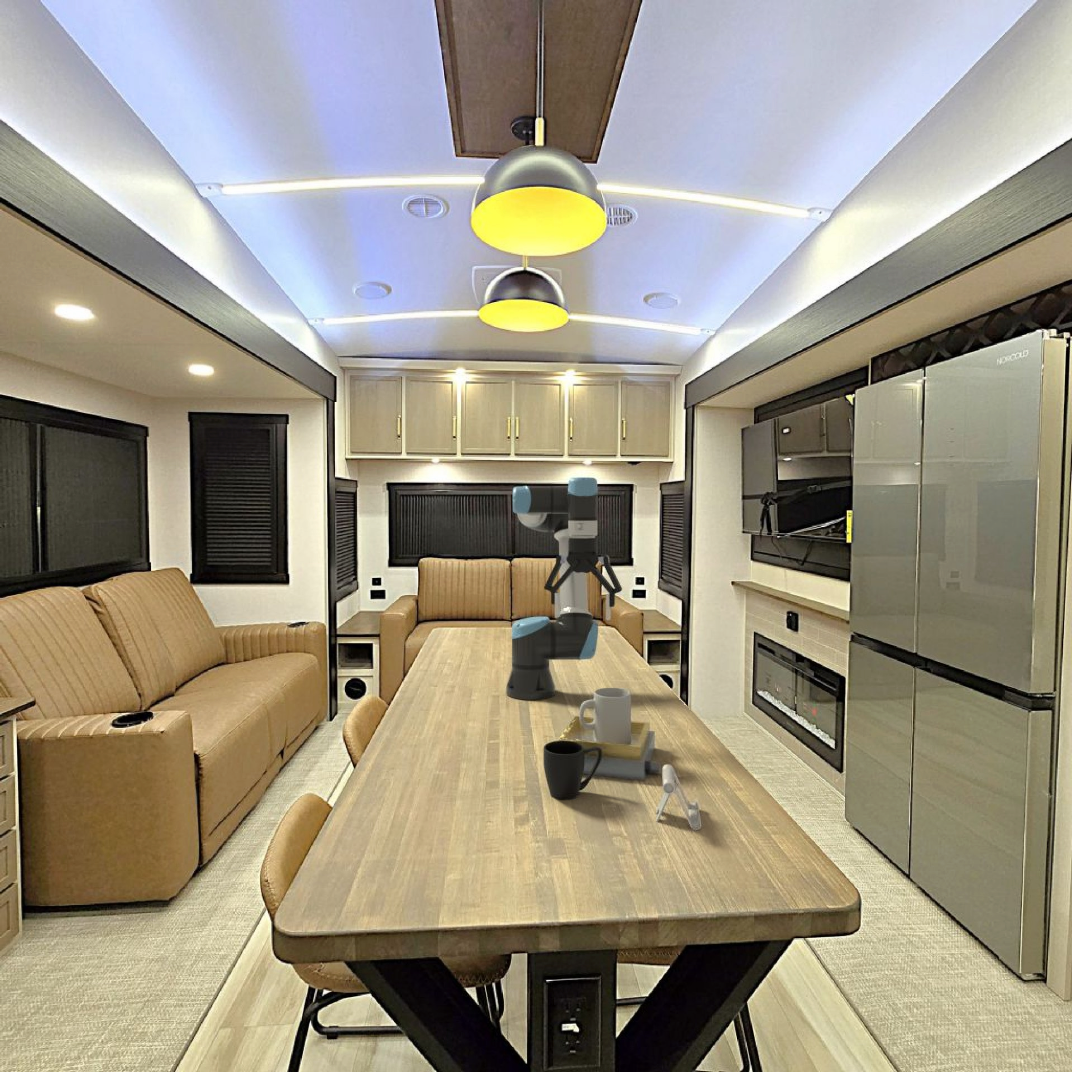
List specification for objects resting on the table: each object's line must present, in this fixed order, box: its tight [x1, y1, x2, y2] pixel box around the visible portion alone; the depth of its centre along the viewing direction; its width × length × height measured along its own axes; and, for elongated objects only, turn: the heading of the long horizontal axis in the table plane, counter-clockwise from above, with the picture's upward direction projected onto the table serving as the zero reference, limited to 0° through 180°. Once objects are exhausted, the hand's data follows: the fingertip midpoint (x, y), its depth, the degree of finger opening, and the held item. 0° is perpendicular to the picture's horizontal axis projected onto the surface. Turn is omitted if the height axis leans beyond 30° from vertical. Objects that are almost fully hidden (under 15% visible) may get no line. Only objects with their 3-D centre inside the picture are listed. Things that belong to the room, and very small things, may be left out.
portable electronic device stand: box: [655, 764, 702, 831], centre depth 123 cm, size 9×8×8 cm
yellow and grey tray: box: [557, 715, 661, 782], centre depth 152 cm, size 23×20×6 cm
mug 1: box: [542, 740, 602, 801], centre depth 134 cm, size 8×12×10 cm
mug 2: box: [578, 687, 632, 744], centre depth 152 cm, size 12×8×11 cm
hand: (582, 618), depth 174 cm, fingers open, 13 cm apart
